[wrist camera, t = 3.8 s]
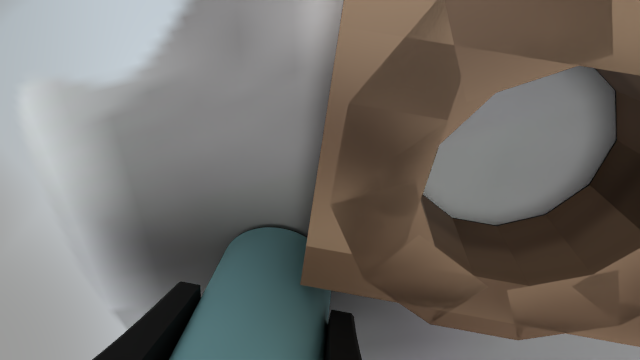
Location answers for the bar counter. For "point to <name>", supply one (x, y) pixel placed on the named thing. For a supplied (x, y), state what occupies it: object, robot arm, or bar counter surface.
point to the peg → (258, 304)
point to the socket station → (420, 150)
